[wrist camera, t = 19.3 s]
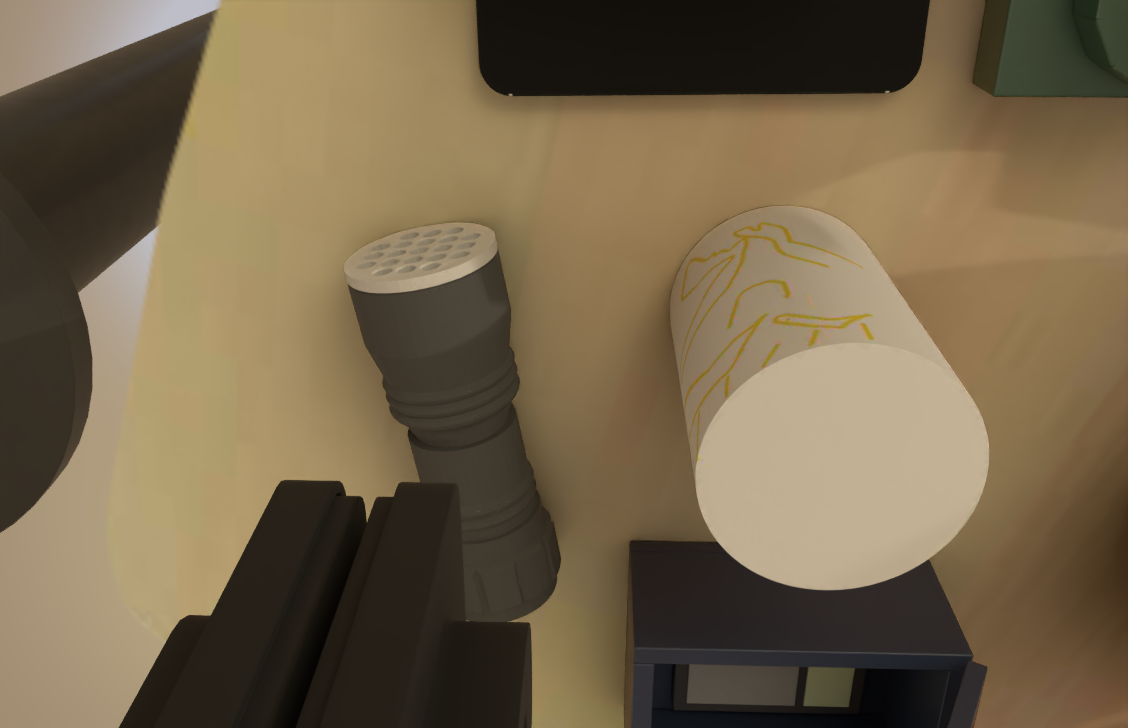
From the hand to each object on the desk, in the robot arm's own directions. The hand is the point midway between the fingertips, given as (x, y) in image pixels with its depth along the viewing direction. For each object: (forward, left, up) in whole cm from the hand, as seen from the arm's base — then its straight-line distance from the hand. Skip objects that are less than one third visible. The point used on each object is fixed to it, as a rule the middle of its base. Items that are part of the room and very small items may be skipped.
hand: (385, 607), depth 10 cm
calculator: (+10, -25, -28) cm, 39 cm away
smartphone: (+5, +3, -29) cm, 30 cm away
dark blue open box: (+10, -25, -29) cm, 40 cm away
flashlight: (-3, -13, -29) cm, 32 cm away
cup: (+9, -9, -29) cm, 32 cm away
